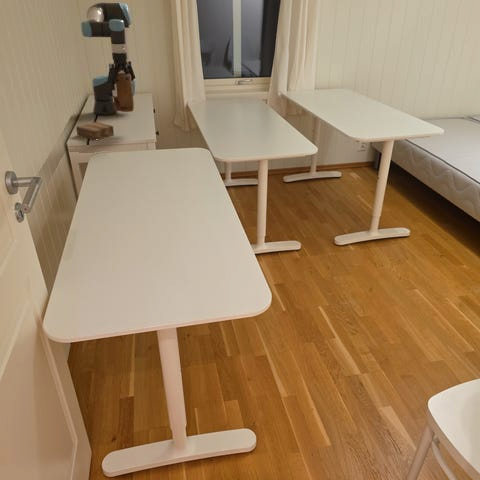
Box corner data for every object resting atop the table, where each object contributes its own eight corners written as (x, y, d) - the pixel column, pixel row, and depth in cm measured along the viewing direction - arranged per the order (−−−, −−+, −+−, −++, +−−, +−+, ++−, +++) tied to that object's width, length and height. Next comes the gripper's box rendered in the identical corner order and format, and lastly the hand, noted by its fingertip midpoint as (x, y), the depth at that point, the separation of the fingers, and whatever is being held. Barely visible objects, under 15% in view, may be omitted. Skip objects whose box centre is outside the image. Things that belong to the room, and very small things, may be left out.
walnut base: (97, 130, 263) (95, 121, 260) (113, 134, 256) (112, 126, 254) (77, 135, 252) (76, 126, 250) (94, 140, 246) (93, 131, 243)
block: (134, 109, 258) (131, 72, 248) (134, 112, 252) (131, 75, 241) (114, 109, 256) (111, 72, 246) (114, 112, 250) (110, 75, 239)
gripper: (107, 55, 228) (111, 99, 239) (140, 50, 245) (142, 91, 256) (97, 53, 231) (102, 96, 242) (130, 49, 248) (133, 89, 260)
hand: (123, 94), depth 249 cm, fingers closed on block, 11 cm apart
